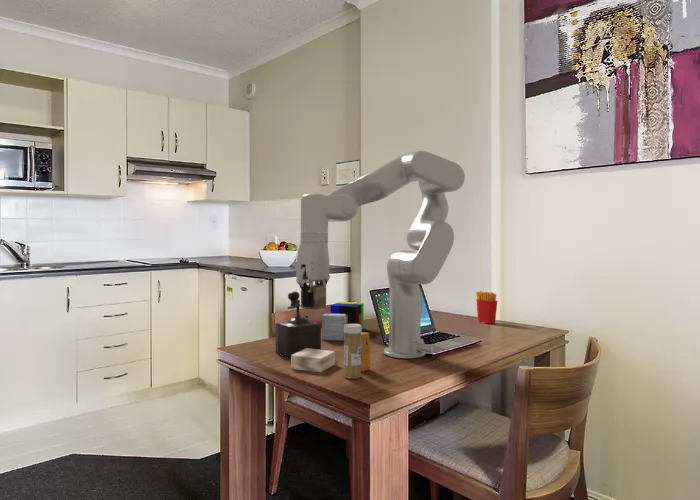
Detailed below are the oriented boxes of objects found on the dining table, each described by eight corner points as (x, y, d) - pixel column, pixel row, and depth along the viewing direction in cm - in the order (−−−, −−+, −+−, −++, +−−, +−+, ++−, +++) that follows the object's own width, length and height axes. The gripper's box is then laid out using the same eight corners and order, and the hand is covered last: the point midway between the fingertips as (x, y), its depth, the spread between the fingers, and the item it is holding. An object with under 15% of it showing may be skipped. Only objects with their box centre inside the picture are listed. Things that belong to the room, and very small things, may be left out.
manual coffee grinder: (323, 354, 149) (324, 295, 148) (293, 360, 142) (293, 298, 141) (295, 344, 161) (295, 290, 160) (266, 349, 153) (266, 292, 153)
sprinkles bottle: (359, 379, 123) (360, 326, 122) (341, 378, 124) (342, 326, 123) (362, 374, 127) (362, 323, 127) (344, 373, 128) (345, 322, 128)
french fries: (498, 323, 201) (499, 292, 200) (492, 325, 198) (493, 293, 198) (479, 320, 208) (479, 290, 207) (473, 321, 205) (473, 291, 204)
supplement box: (360, 367, 134) (360, 331, 134) (370, 369, 132) (370, 332, 132) (352, 369, 132) (353, 332, 131) (362, 372, 130) (363, 334, 129)
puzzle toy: (330, 332, 182) (330, 305, 181) (338, 327, 191) (339, 301, 191) (356, 334, 179) (356, 306, 178) (363, 328, 188) (363, 303, 188)
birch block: (334, 365, 137) (335, 351, 137) (320, 373, 129) (320, 358, 129) (306, 361, 141) (306, 348, 141) (291, 369, 133) (291, 355, 132)
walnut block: (325, 307, 135) (326, 285, 135) (315, 309, 131) (316, 287, 131) (311, 305, 138) (311, 284, 138) (300, 308, 134) (300, 286, 133)
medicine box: (346, 338, 171) (346, 313, 171) (344, 341, 167) (344, 315, 166) (323, 337, 172) (323, 313, 171) (321, 340, 167) (321, 315, 167)
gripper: (319, 239, 143) (319, 300, 144) (284, 239, 128) (283, 308, 129) (341, 239, 139) (341, 303, 140) (307, 239, 124) (307, 310, 125)
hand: (313, 304), depth 134 cm, fingers closed on walnut block, 5 cm apart
